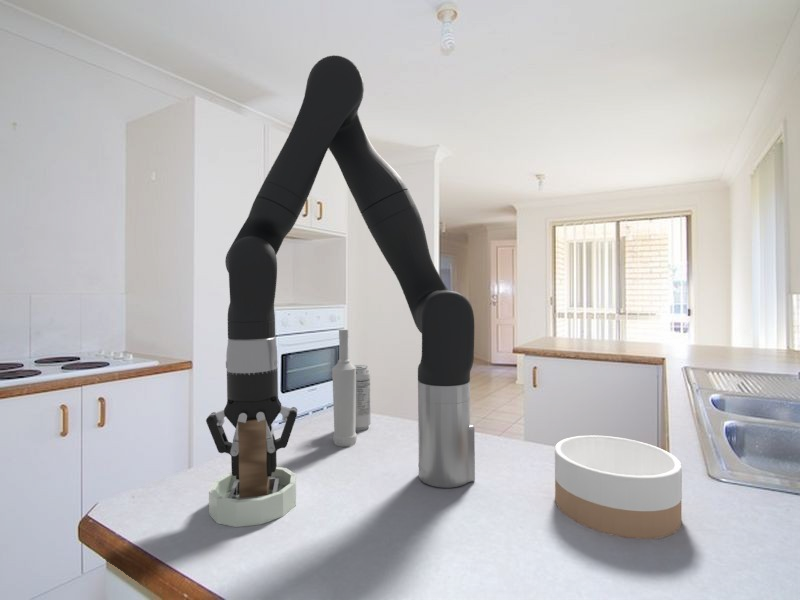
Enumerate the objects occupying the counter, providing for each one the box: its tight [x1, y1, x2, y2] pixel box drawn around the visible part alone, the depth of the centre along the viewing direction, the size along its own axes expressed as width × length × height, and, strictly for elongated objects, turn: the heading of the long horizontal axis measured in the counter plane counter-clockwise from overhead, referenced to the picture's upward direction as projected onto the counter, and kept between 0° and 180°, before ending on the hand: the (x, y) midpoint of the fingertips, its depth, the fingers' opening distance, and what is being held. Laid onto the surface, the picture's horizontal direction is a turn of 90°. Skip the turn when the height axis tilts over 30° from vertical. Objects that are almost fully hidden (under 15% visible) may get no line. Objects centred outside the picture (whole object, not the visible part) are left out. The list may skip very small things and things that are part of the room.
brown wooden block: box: [238, 419, 269, 498], centre depth 68 cm, size 4×4×12 cm
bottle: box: [331, 328, 358, 447], centre depth 95 cm, size 5×5×25 cm
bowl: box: [554, 434, 683, 540], centre depth 66 cm, size 17×17×8 cm
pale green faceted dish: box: [208, 466, 297, 528], centre depth 68 cm, size 13×13×4 cm
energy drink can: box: [353, 364, 372, 432], centre depth 106 cm, size 6×6×15 cm
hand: (254, 475), depth 68 cm, fingers closed on brown wooden block, 4 cm apart
